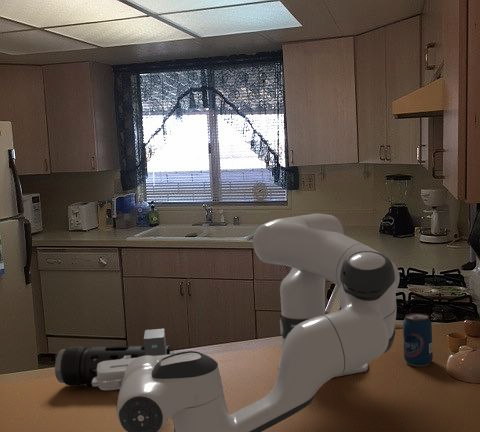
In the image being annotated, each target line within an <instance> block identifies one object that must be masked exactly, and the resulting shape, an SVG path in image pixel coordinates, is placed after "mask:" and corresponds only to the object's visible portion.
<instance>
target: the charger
mask: <svg viewBox="0 0 480 432" xmlns="http://www.w3.org/2000/svg"><path fill="white" fill-rule="evenodd" d="M143 334H144V336H143V344H144V345H143V346H145V356H146V355H149V356H158V355H167V351H166V345H167V342H166V331H165V328H156V329H155V328H154V329H153V328H152V329H145V330H144V333H143Z"/></svg>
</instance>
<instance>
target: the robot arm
mask: <svg viewBox="0 0 480 432" xmlns="http://www.w3.org/2000/svg"><path fill="white" fill-rule="evenodd" d="M252 246H253V251H254V252H255V255H256V256H257V257H258V259H259V260H260V261H261V262H262V263H265V264H273V265H279V266H280V265H281V266H285V267H289V268H291V269H290V271H289V273H288V274H287V275H286V276H285V277H284V278H283V280H282V281H281V283H280V287H279V291H280V292H279V293H280V307H281V310H280V311H281V312H280V314H279V318H280V319H279V326H280V327H279V329H280V335H281V339H282V340H281V352H280V353H281V354H280V357H279V364H278V374H277V378H276V382H275V384H274V385H273V387H272V389H271V391H270V392H268V394H267V395H265V396H264V397H262V398H259V399H258V400H256V401H254V402H253V403H250V404H248V405H246V406H245V407H243V408H241V409H239V410H237V411H235V412H233V413H231V414H229V411H228V405H227V402H226V401H227V400H226V398H225V394H224V393H225V392H224V386H223V381H222V375H221V373H220V368H219V364H218V361H216V360H215V359H214V358H212V357H211V356H209V355H207V354H205V353H202V352H199V351H195V350H189V351H181V352H178V351H177V350H173V351H170V354H168V355H158V356H149V355H146V356H141V357H138V358H132V357H131V355H128V356H124V358H122V359H118V360H108V361H102V362H100V363H98V365H97V377H95V378H93V380H92V386H98V387H97V388H99V389H100V390H101V391H113V390H119V392H118V396H117V401H116V416H117V419H118V422H119V423H120V426H121V427H122V429H123V430H124V431H126V432H160V431H161V430H162V428H163V427H164V425H165V424H166V423H167V421H168V420H169V419H170V418H171V419H172V422H173V423H172V424H173V426H174V427H173V432H264V431H266V430H268V429H269V428H271V427H273V426H275V425H277V424H279V423H281V422H283V421H284V420H286V419H289V418H290V417H291V416H293V415H296V414H297V413H299V412H300V411H302V410H303V409H305V408H307V407H308V406H309V405H310V404H311V403H312V402H313V401H314V399H315V396H316V393H317V392H318V391H319V389H320V388H322V387H323V385H324V384H326V383H327V382H328V381H330V380H331V379H333V378H335V377H336V378H337V377H342V376H348V375H353V374H357V373H358V374H359V373H365V372H367V370H368V369H369V363H371V362H372V361H374V360H376V359H377V358H379V357H381V356H382V355H383V354H386V353H387V352H388V351H390V349H391V348H392V346H393V344H394V343H393V342H394V339H395V337H396V328H395V327H396V321H397V310H398V309H397V298H396V291H397V289H398V288H399V287H398V286H399V284H400V271H399V268H398V267H397V265H396V264H395V263H394V262H393V261H391V259H390V258H389V257H387V256H386V255H384V254H383V253H381V252H379V251H377V250H376V249H374V248H373V247H370V246H369V245H367V244H364V243H362V242H360V241H358V240H356V239H354V238H351V237H350V236H348V235H345V233H344V227H343V225H342V223H341V221H340V220H339V219H338V217H336V216H334V215H332V214H325V213H310V214H302V215H295V216H291V217H283V218H275V219H273V220H270V221H268V222H265V223H263V224H260V225H258V227H257V228H256V229H255V230H254V233H253V238H252ZM326 280H327V281H329V282H331V283H333V284H335V285H336V286H338V287H339V288H340V290H339V306H340V310H337V311H334V312H333V311H332V312H329V311H327V310H326V299H325V298H326V296H325V295H326V293H325V292H326V291H325V286H326Z"/></svg>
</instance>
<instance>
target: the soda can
mask: <svg viewBox="0 0 480 432" xmlns="http://www.w3.org/2000/svg"><path fill="white" fill-rule="evenodd" d="M432 327H433V326H432V321H431V320H430V316H429V315H428V314H426V313H422V312H421V313H419V312H415V313H413V312H412V313H407V314H405V316H404V320H403V321H402V337H403V340H402V341H403V358H404V360H405V361H406V363H407V364H408V365H410V366H413V367H427V366H429V365H430V364H431V362H432V360H433V359H434V354H433V353H434V352H433V329H432Z"/></svg>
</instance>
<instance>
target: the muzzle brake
mask: <svg viewBox="0 0 480 432" xmlns="http://www.w3.org/2000/svg"><path fill="white" fill-rule="evenodd" d="M166 351H167V355H168V354H170V351H174V348H173V346H172V345H170V344H166ZM128 355H131V357H132V358H138V357H141V356H145V346H144V345H126V346H125V345H123V346H121V345H120V346H93V347H91V348H89V347H88V346H85V345H82V346H81V345H77V346H75V345H73V346H71V345H70V346H69V347H66V349H65V348H63V349H60V350H59V351H58V353H57V354H56V358H55V362H54V374H55V378H56V380H57V382H59V383H60V384H65V385H66V386H70V387H71V386H86V388H87V387H88V388H99V387H98V386H92V380H93V378H95V377H97V365H98V363H100V362H102V361H108V360H118V359H122V358H124V356H128Z"/></svg>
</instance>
